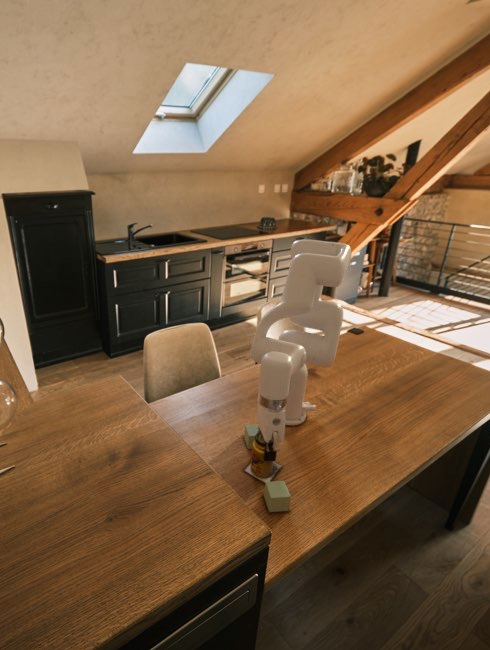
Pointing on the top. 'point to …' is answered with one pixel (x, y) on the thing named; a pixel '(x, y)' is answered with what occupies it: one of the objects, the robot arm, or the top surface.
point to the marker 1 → (250, 435)
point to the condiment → (261, 461)
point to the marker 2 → (276, 496)
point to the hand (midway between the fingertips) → (265, 450)
